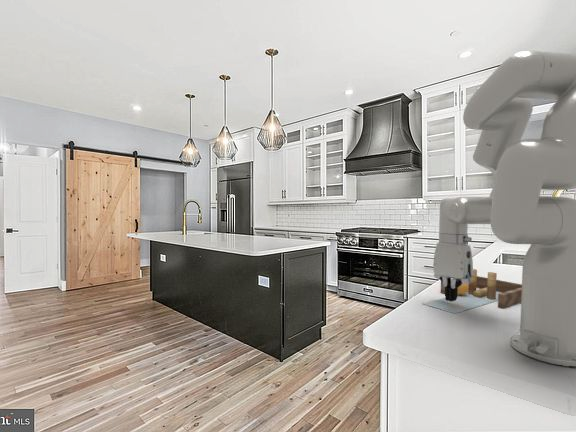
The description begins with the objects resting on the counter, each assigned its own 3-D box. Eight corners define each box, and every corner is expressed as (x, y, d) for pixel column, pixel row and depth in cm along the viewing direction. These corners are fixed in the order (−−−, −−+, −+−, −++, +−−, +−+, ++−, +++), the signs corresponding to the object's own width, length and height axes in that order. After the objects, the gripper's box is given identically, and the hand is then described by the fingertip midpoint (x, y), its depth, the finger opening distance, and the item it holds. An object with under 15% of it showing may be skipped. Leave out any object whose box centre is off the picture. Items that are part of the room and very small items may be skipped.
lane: (454, 313, 86) (454, 313, 86) (422, 304, 95) (422, 303, 95) (514, 295, 106) (514, 295, 106) (482, 288, 114) (482, 288, 114)
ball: (476, 289, 104) (467, 281, 101) (462, 301, 105) (453, 294, 102) (463, 278, 109) (454, 270, 106) (450, 290, 110) (441, 282, 108)
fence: (503, 308, 92) (503, 295, 92) (440, 292, 108) (440, 281, 108) (532, 298, 103) (533, 286, 102) (471, 285, 119) (471, 275, 119)
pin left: (473, 295, 105) (474, 270, 105) (466, 294, 107) (467, 269, 107) (477, 294, 106) (478, 269, 106) (470, 293, 108) (471, 268, 108)
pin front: (480, 290, 102) (491, 287, 107) (472, 290, 104) (484, 287, 109) (481, 298, 102) (492, 294, 106) (473, 297, 103) (485, 294, 108)
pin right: (493, 300, 100) (494, 274, 100) (485, 298, 102) (486, 272, 102) (497, 299, 101) (498, 273, 101) (489, 297, 103) (490, 271, 103)
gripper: (485, 241, 89) (483, 305, 90) (436, 236, 102) (435, 292, 103) (471, 242, 85) (469, 309, 86) (422, 237, 98) (421, 295, 99)
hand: (450, 300), depth 94 cm, fingers closed
